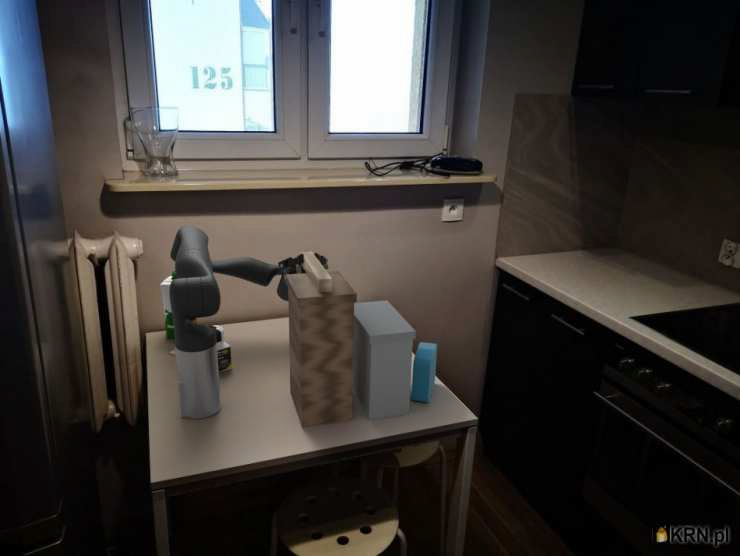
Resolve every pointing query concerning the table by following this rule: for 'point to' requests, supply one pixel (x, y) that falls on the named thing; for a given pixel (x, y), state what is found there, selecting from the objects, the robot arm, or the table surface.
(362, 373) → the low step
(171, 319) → the milk carton
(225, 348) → the medicine bottle
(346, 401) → the wooden column with lip
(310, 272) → the birch rod
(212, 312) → the robot arm
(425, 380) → the data package
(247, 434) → the table surface
